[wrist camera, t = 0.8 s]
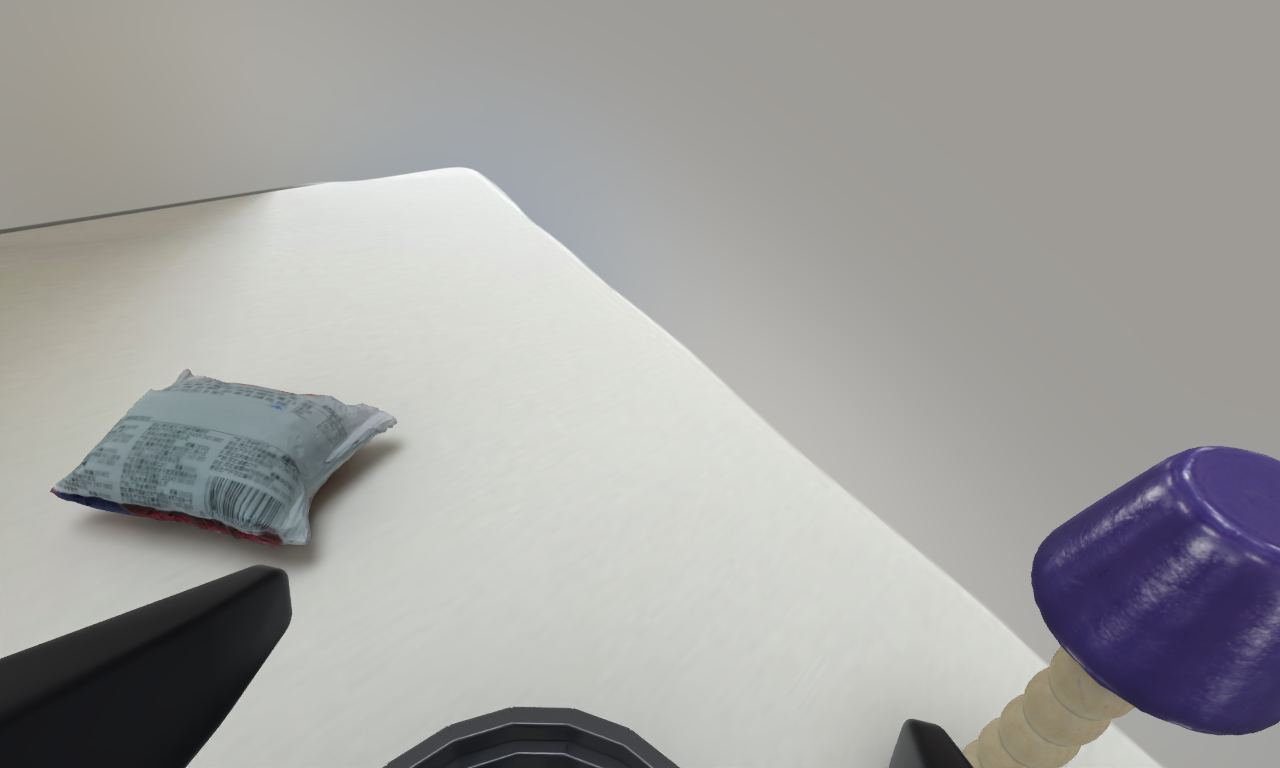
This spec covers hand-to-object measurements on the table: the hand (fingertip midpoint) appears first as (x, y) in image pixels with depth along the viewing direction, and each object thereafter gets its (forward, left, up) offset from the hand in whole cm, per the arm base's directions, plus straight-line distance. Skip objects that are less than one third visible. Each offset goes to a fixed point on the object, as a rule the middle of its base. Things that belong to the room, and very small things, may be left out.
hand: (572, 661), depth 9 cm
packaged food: (+17, +18, -16) cm, 29 cm away
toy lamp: (+3, -12, -16) cm, 20 cm away
